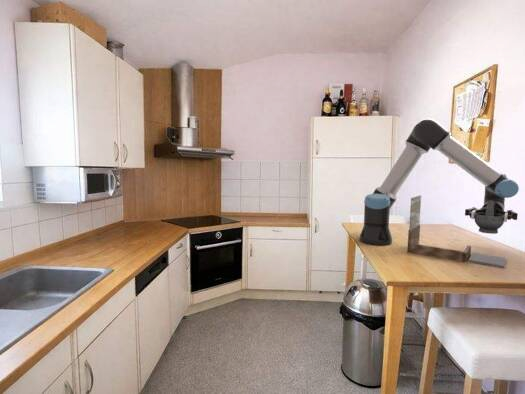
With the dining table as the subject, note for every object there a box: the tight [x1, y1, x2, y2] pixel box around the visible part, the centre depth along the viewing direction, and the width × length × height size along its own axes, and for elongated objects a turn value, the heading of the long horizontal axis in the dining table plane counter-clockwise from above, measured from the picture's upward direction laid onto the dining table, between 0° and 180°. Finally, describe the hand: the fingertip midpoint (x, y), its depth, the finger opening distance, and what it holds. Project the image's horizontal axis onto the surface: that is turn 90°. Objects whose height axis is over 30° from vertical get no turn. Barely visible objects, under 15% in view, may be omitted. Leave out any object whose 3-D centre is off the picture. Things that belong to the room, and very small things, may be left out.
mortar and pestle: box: [473, 201, 505, 235], centre depth 117 cm, size 11×9×12 cm
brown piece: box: [407, 195, 472, 263], centre depth 128 cm, size 21×15×24 cm
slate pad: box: [468, 252, 506, 269], centre depth 119 cm, size 11×13×1 cm
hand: (488, 217), depth 114 cm, fingers closed on mortar and pestle, 9 cm apart
